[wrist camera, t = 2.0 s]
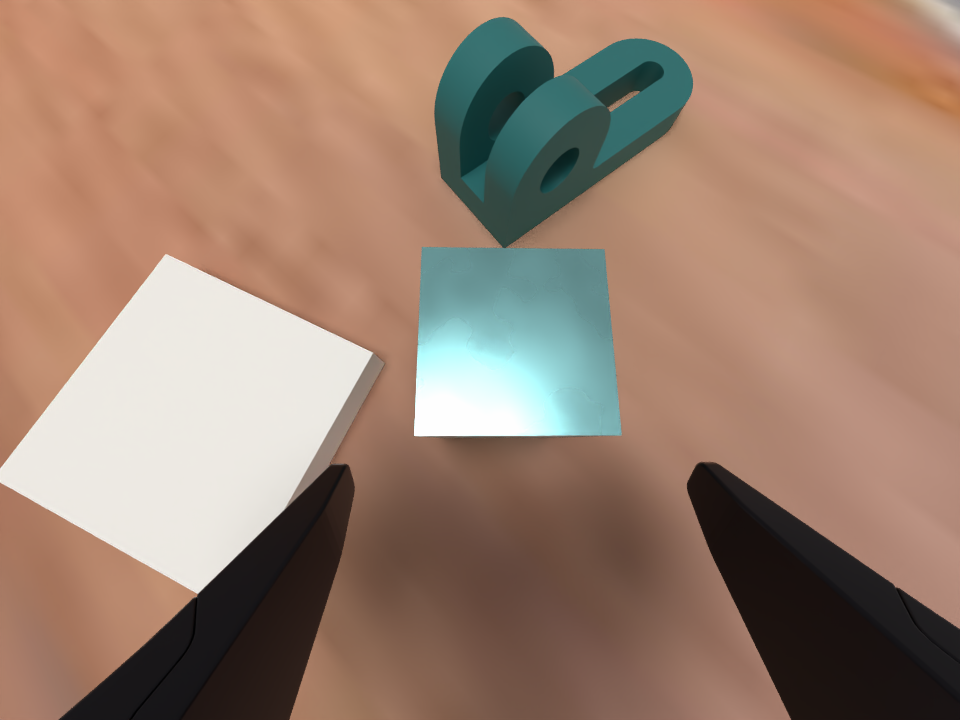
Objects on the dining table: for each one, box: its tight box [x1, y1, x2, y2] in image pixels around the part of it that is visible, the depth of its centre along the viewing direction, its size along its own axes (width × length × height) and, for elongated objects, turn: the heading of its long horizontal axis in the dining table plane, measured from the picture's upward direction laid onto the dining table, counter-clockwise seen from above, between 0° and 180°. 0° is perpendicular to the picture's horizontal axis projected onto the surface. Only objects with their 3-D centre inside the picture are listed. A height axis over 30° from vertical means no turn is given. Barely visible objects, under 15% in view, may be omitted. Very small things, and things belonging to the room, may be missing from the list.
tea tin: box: [414, 247, 621, 438], centre depth 16 cm, size 6×6×10 cm
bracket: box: [434, 17, 693, 248], centre depth 21 cm, size 18×7×8 cm, turn 128°
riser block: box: [0, 254, 385, 594], centre depth 19 cm, size 13×13×3 cm
